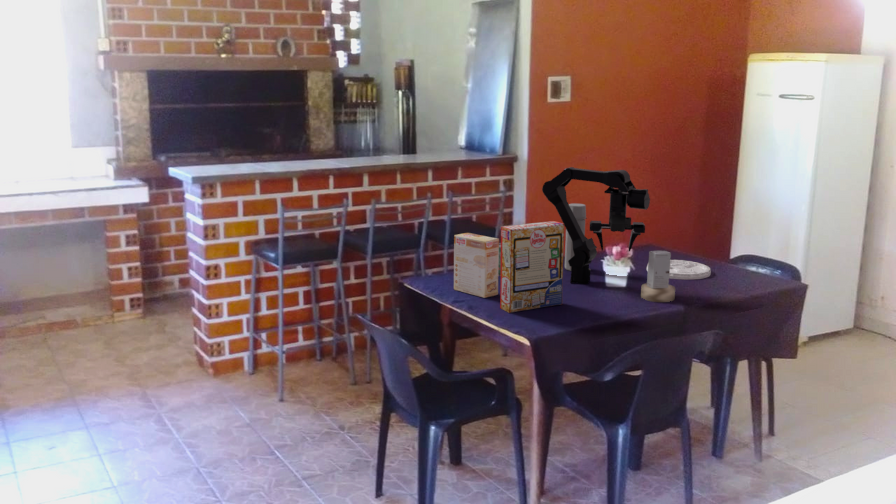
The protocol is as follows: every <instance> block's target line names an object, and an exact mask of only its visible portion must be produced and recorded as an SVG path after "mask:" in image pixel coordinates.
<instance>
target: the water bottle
mask: <svg viewBox="0 0 896 504" xmlns="http://www.w3.org/2000/svg"><path fill="white" fill-rule="evenodd" d="M568 204H569V206H570V208H571V210H572V212H573V214H574V216H575V218H576V220H577V222H578V224H579V226H580V228H581V230H582V232H583V234H584V236H585V235H586V219H587V206H586V204H584V203H568ZM585 237H586V236H585ZM564 244H565V247H564V269H565V270H567V271H570V272H571V266H569V262H568V261H569V260H570V259H571V258H572V257H573V256H574V252H573V243H572V240H571V238H570V236H569V234H568V232H567V230H566V229H565V243H564Z"/></svg>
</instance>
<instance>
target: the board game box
mask: <svg viewBox="0 0 896 504" xmlns="http://www.w3.org/2000/svg"><path fill="white" fill-rule="evenodd" d="M564 241H565V225H564V223H563V222H559V221H556V220H550V221H542V222H532V223H524V224H516V225H515V224H514V225H506V226H505V225H504V226H500V244H501V276H500V287H499V288H500V289H499V291H500V294H499V296H500V297H499V299H500V302H499V309H501V310H503V311H505V312H506V313H508V314H511V313H515V312H516V313H517V312H521V311H528V310H533V309H540V308H541V309H542V308H546V307H552V306H559V305H560V306H561V305H563V289H564V287H563V286H564V283H563V281H564V280H563V279H564V253H565V247H564V244H565V243H564Z"/></svg>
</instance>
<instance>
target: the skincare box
mask: <svg viewBox="0 0 896 504" xmlns="http://www.w3.org/2000/svg"><path fill="white" fill-rule="evenodd" d="M671 257H672V253H671V252H669V251H667V250H649V251H648V263H647V265H648V271H647V275H646V279H647V280H646V283H647V286H648V287H650V288H652V289H656V288H668V285H670V283H669V282H670V278H669V272H670V260H672V259H671Z"/></svg>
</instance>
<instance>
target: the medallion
mask: <svg viewBox="0 0 896 504" xmlns="http://www.w3.org/2000/svg"><path fill="white" fill-rule="evenodd" d="M646 271H647V272H648V264H647V265H646ZM711 274H712V271H711V267H709V265H705V264H704V263H700V262H695V261H692V260H685V259H670V272H669V279H671V280H685V281H686V280H701V279H705V278H709V277H710V276H711Z"/></svg>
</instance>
